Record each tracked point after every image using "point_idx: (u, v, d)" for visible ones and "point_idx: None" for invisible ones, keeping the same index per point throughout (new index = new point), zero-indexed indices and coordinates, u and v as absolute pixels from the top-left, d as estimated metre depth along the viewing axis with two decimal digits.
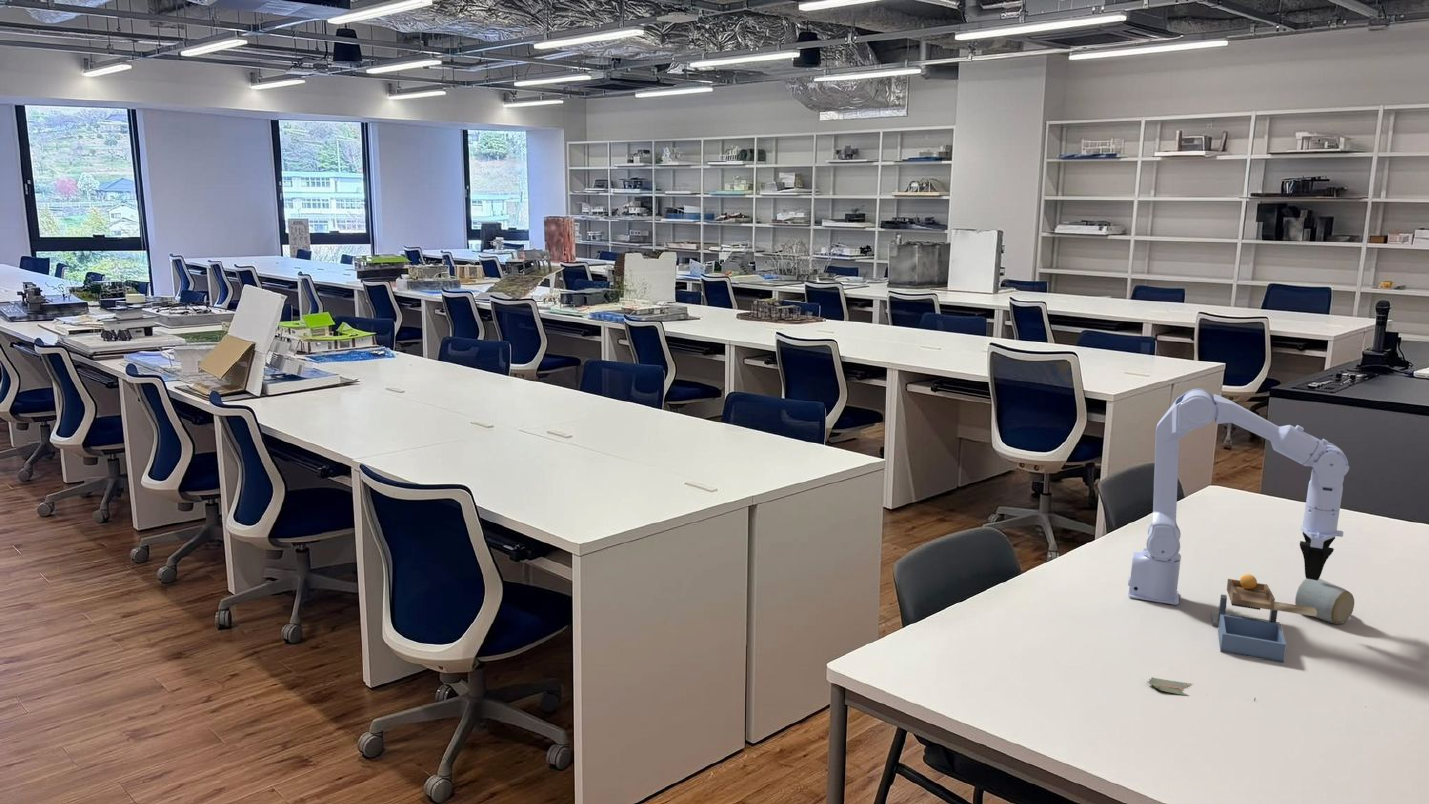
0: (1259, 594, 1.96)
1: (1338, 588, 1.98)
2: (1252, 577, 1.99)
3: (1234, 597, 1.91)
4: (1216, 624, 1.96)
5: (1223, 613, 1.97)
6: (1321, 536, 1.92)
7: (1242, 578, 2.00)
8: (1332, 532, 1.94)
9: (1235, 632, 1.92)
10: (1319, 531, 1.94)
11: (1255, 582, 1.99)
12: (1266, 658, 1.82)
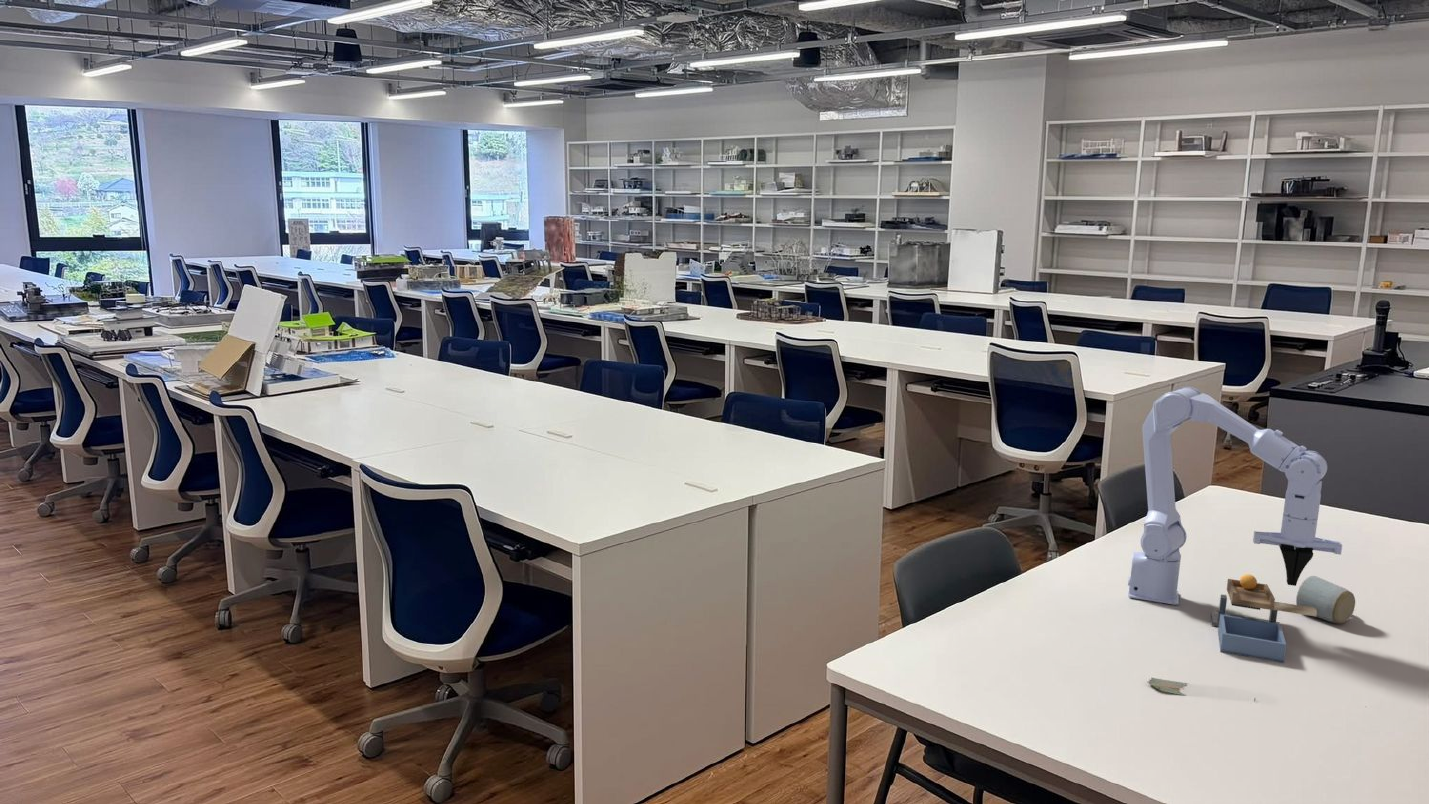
0: (1259, 594, 1.96)
1: (1339, 588, 1.98)
2: (1252, 577, 1.99)
3: (1234, 597, 1.91)
4: (1216, 624, 1.96)
5: (1223, 613, 1.97)
6: (1269, 536, 1.93)
7: (1242, 578, 2.00)
8: (1287, 539, 1.90)
9: (1235, 632, 1.92)
10: (1280, 534, 1.93)
11: (1255, 582, 1.99)
12: (1266, 658, 1.82)
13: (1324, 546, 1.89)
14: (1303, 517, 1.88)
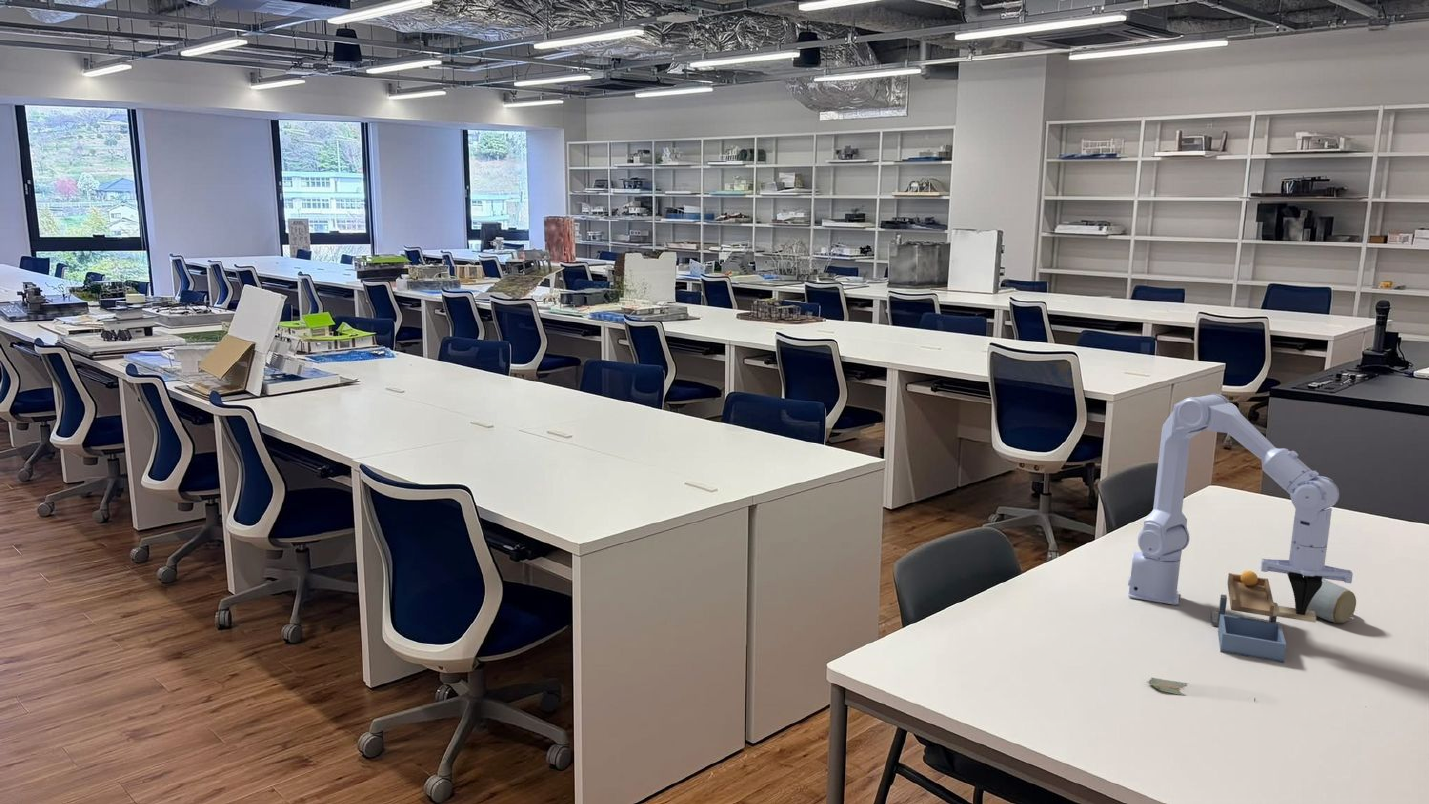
0: (1259, 593, 1.96)
1: (1340, 588, 1.99)
2: (1253, 574, 1.98)
3: (1233, 604, 1.91)
4: (1216, 624, 1.96)
5: (1223, 613, 1.97)
6: (1277, 563, 1.88)
7: (1243, 575, 1.99)
8: (1296, 567, 1.85)
9: (1235, 632, 1.92)
10: (1288, 562, 1.87)
11: (1256, 579, 1.98)
12: (1266, 658, 1.82)
13: (1334, 575, 1.83)
14: (1308, 544, 1.83)
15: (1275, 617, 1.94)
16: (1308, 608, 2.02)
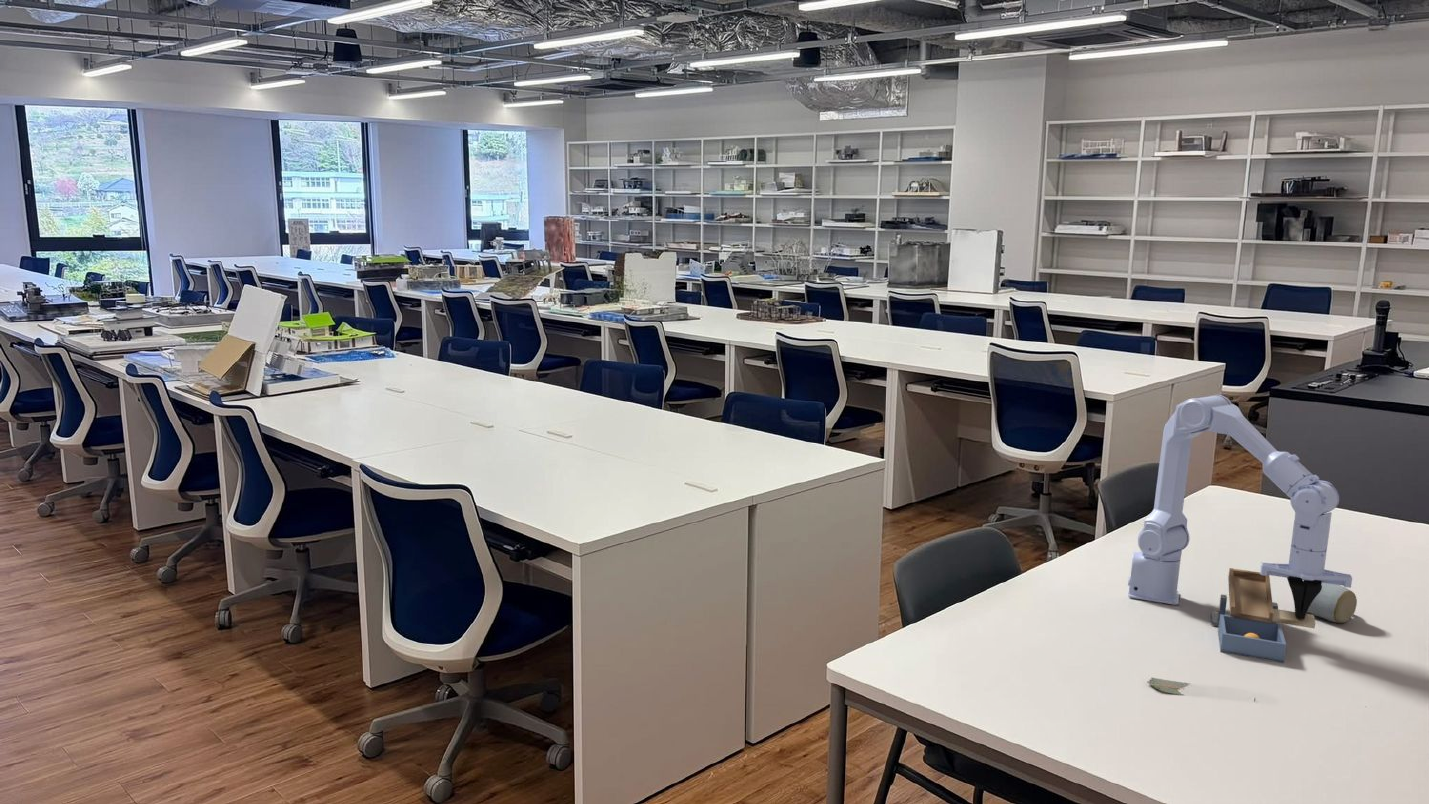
0: (1259, 592, 1.96)
1: (1340, 587, 1.99)
2: None
3: (1232, 611, 1.91)
4: (1216, 624, 1.96)
5: (1223, 613, 1.97)
6: (1276, 567, 1.88)
7: None
8: (1295, 571, 1.85)
9: (1235, 632, 1.92)
10: (1288, 566, 1.87)
11: None
12: (1266, 658, 1.82)
13: (1333, 579, 1.83)
14: (1308, 548, 1.83)
15: None
16: (1309, 608, 2.02)
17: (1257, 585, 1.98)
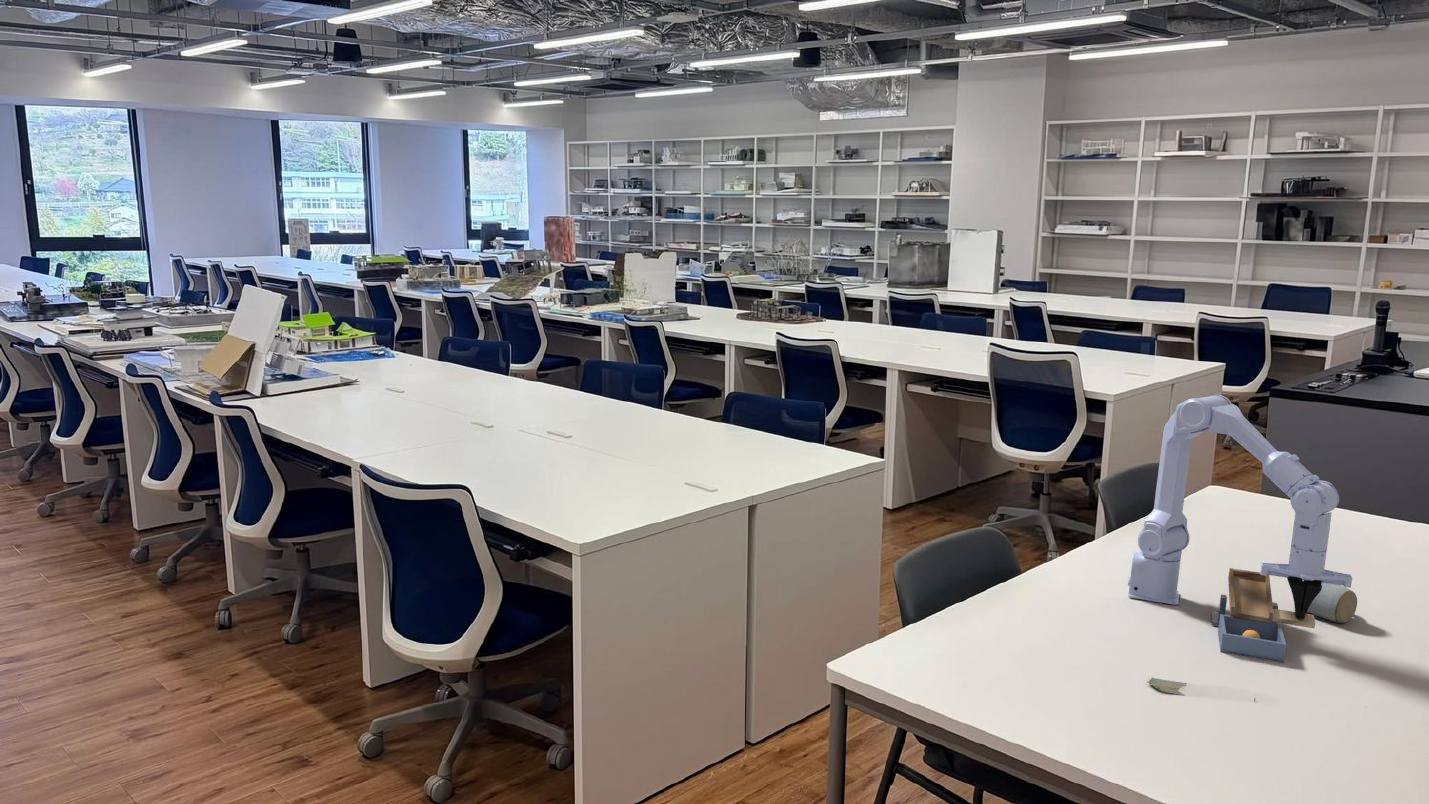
0: (1259, 592, 1.96)
1: (1341, 587, 1.99)
2: (1255, 631, 1.86)
3: (1232, 611, 1.91)
4: (1216, 624, 1.96)
5: (1223, 613, 1.97)
6: (1276, 567, 1.88)
7: (1244, 633, 1.87)
8: (1295, 571, 1.85)
9: (1235, 632, 1.92)
10: (1288, 566, 1.87)
11: (1258, 637, 1.85)
12: (1266, 658, 1.82)
13: (1333, 579, 1.83)
14: (1308, 548, 1.83)
15: None
16: (1309, 608, 2.02)
17: (1257, 585, 1.98)
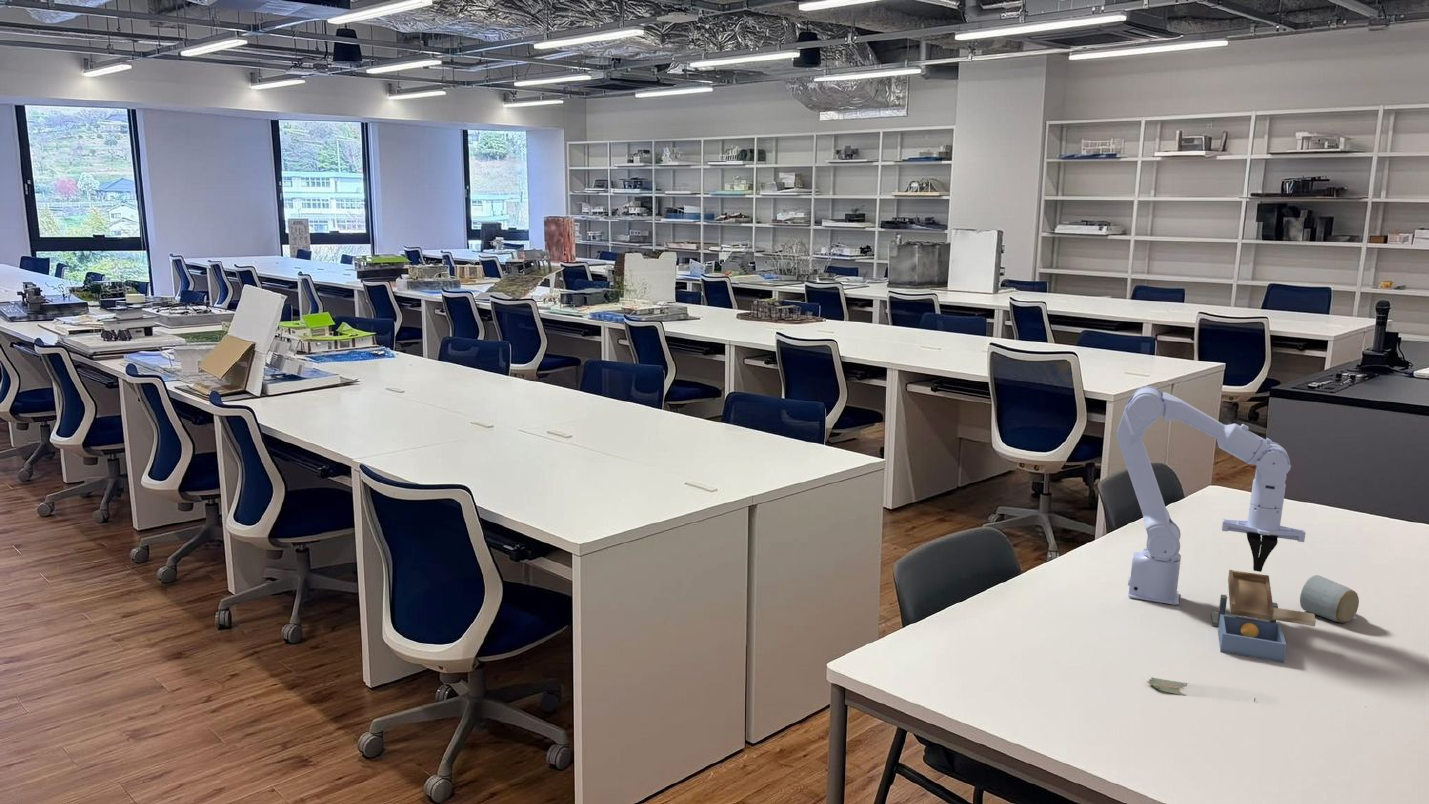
0: (1259, 593, 1.96)
1: (1343, 587, 1.99)
2: None
3: (1233, 608, 1.91)
4: (1216, 624, 1.96)
5: (1223, 613, 1.97)
6: (1236, 524, 2.02)
7: None
8: (1253, 526, 1.99)
9: (1235, 632, 1.92)
10: (1247, 523, 2.02)
11: None
12: (1266, 658, 1.82)
13: (1288, 534, 1.97)
14: (1273, 506, 1.97)
15: None
16: (1311, 607, 2.02)
17: (1257, 586, 1.98)
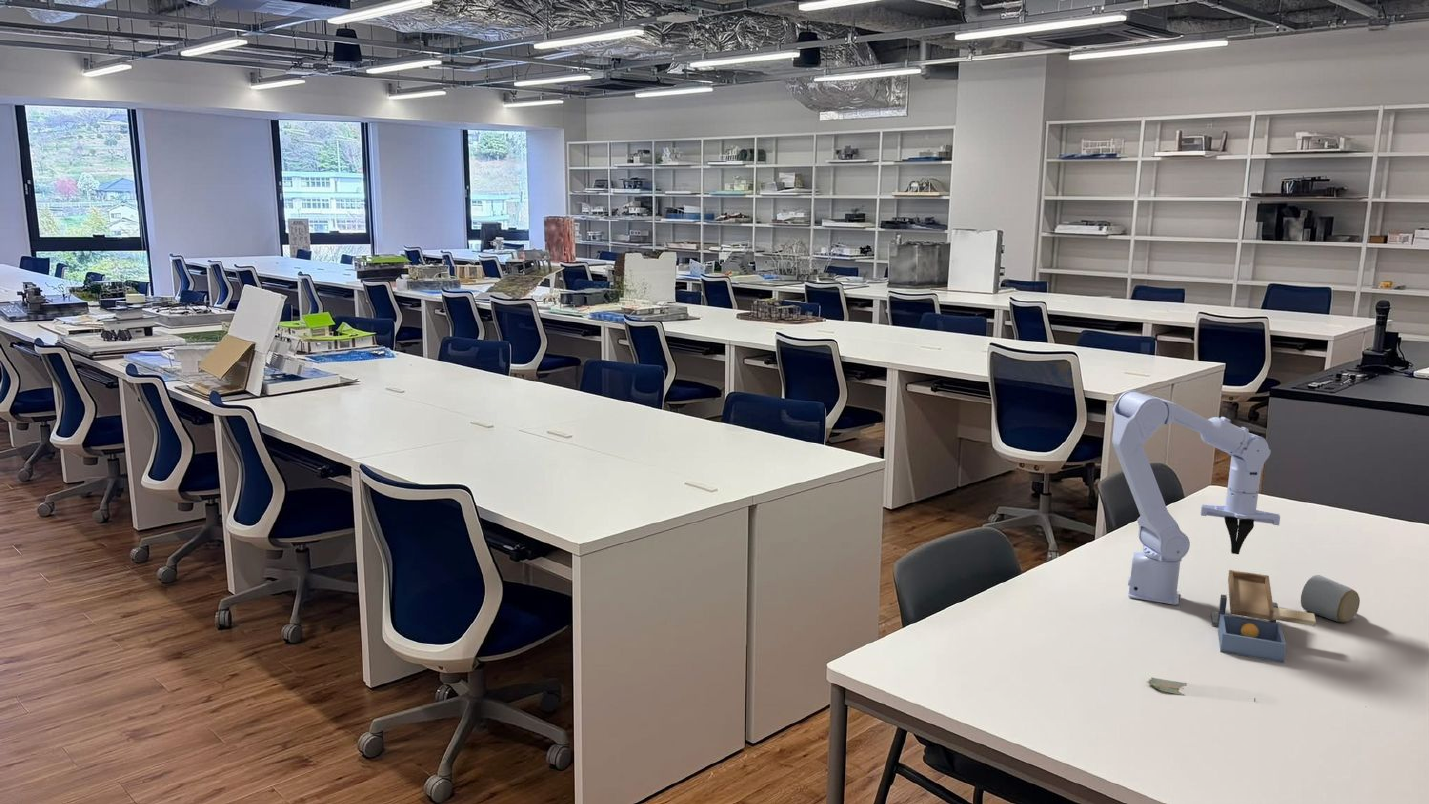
0: (1259, 593, 1.96)
1: (1343, 587, 1.99)
2: None
3: (1233, 608, 1.91)
4: (1216, 624, 1.96)
5: (1223, 613, 1.97)
6: (1214, 508, 2.11)
7: None
8: (1230, 511, 2.08)
9: (1235, 632, 1.92)
10: (1225, 507, 2.10)
11: None
12: (1266, 658, 1.82)
13: (1264, 518, 2.06)
14: (1255, 491, 2.06)
15: None
16: (1312, 607, 2.02)
17: (1257, 586, 1.98)
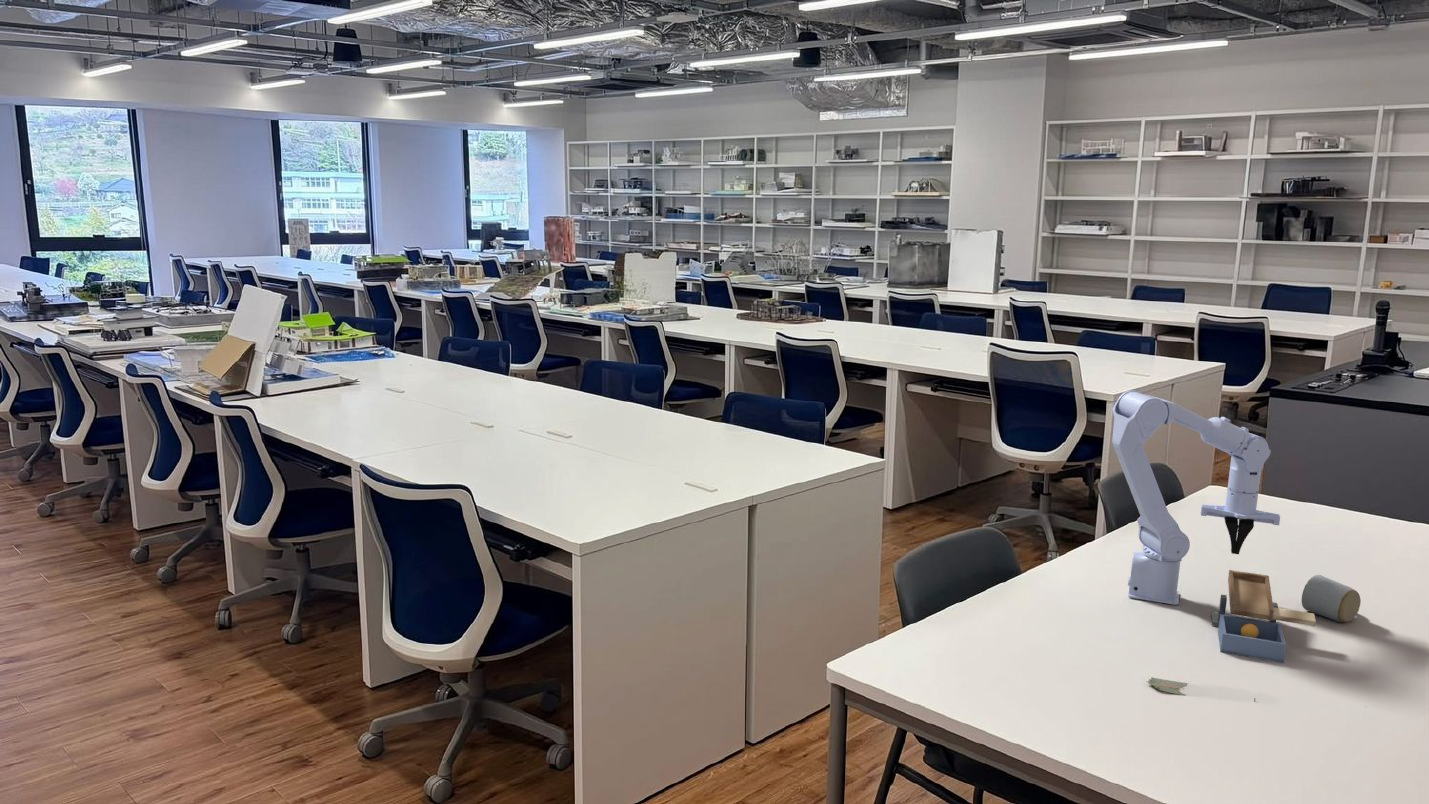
0: (1259, 593, 1.96)
1: (1344, 587, 1.99)
2: None
3: (1233, 608, 1.91)
4: (1216, 624, 1.96)
5: (1223, 613, 1.97)
6: (1214, 508, 2.11)
7: None
8: (1230, 511, 2.08)
9: (1235, 632, 1.92)
10: (1225, 507, 2.10)
11: None
12: (1266, 658, 1.82)
13: (1264, 518, 2.06)
14: (1255, 491, 2.06)
15: None
16: (1312, 607, 2.02)
17: (1257, 586, 1.98)
